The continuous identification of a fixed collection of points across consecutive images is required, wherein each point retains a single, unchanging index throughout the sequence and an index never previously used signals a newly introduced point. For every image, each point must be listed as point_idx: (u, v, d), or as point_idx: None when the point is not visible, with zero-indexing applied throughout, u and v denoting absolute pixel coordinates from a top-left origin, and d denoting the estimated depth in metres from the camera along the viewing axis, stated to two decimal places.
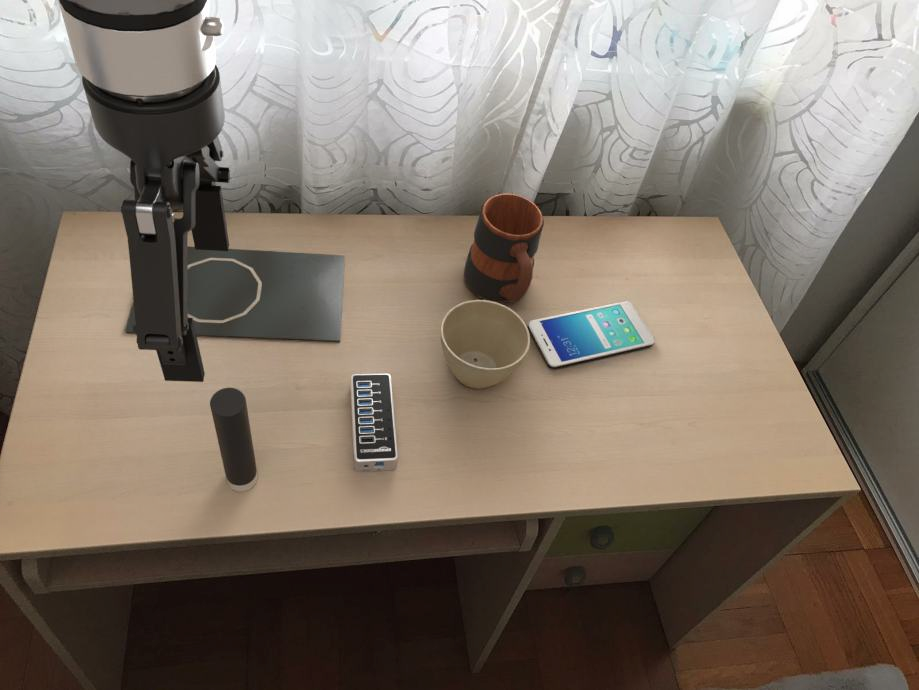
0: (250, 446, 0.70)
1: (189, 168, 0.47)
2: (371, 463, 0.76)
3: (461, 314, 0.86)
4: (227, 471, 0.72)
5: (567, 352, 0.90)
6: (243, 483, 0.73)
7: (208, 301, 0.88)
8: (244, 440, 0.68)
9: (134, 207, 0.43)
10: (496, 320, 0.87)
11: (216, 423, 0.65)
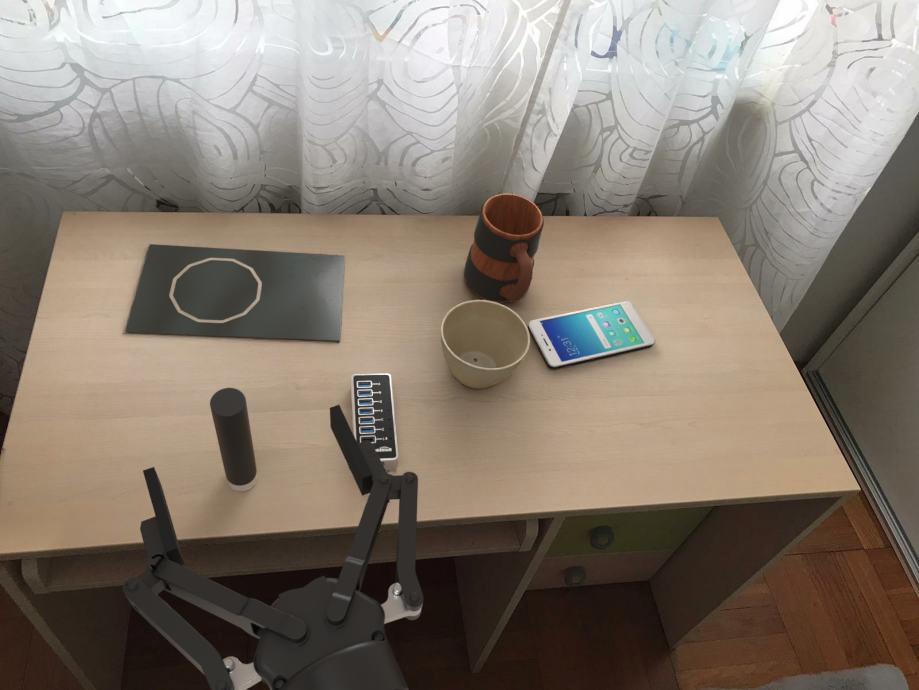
0: (250, 446, 0.70)
1: None
2: None
3: (461, 314, 0.86)
4: (227, 471, 0.72)
5: (567, 352, 0.90)
6: (243, 483, 0.73)
7: (208, 301, 0.88)
8: (244, 440, 0.68)
9: None
10: (496, 320, 0.87)
11: (216, 423, 0.65)
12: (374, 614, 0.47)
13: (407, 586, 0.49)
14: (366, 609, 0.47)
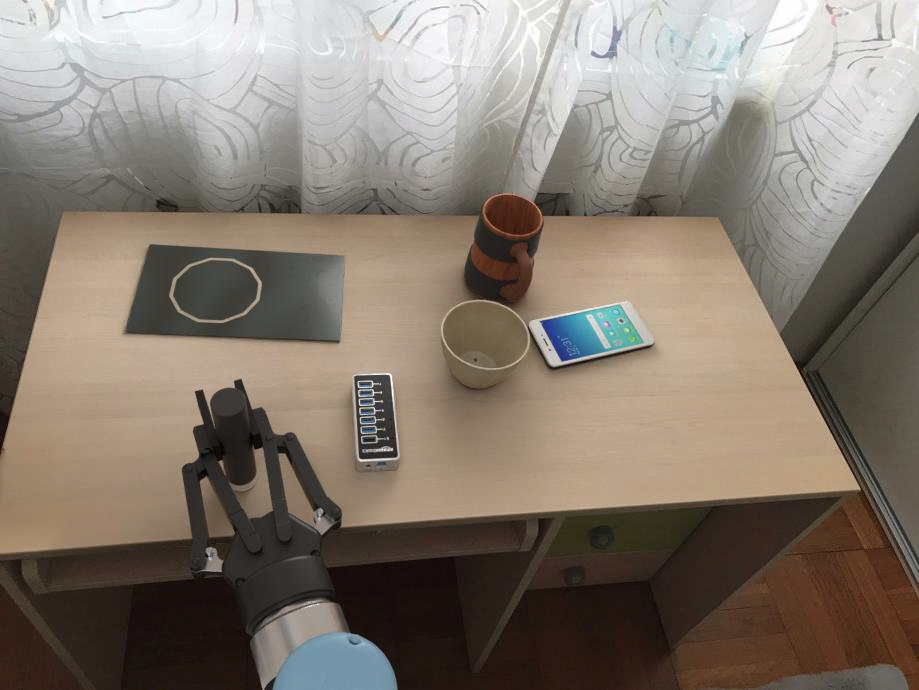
0: (250, 446, 0.70)
1: None
2: (373, 463, 0.76)
3: (461, 314, 0.86)
4: (227, 471, 0.72)
5: (567, 352, 0.90)
6: (243, 483, 0.73)
7: (208, 301, 0.88)
8: (244, 440, 0.68)
9: (191, 570, 0.61)
10: (496, 320, 0.87)
11: (216, 423, 0.65)
12: (313, 538, 0.63)
13: (326, 507, 0.65)
14: (307, 534, 0.64)
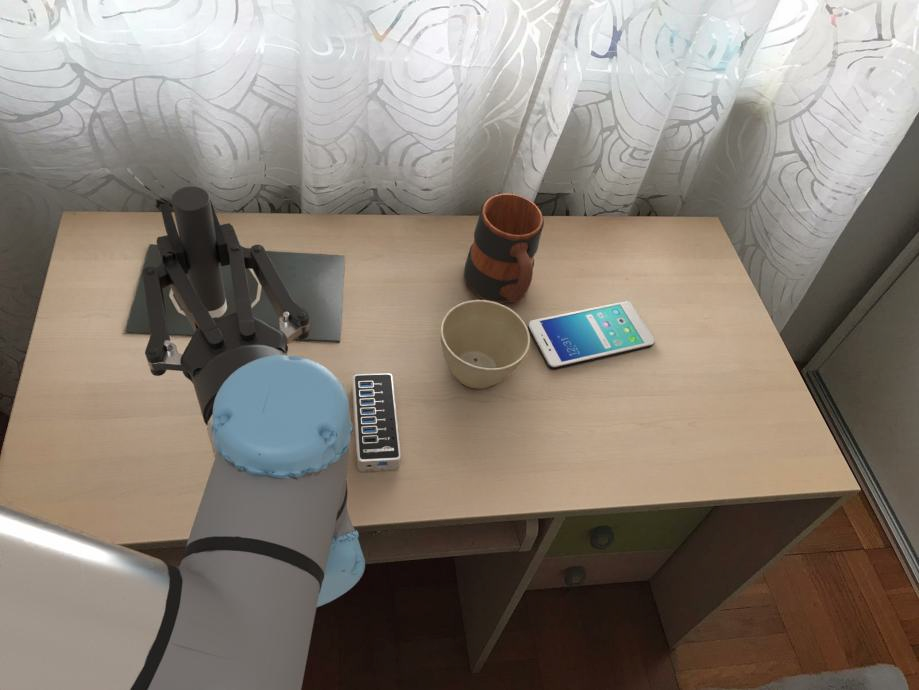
0: (216, 260, 0.67)
1: None
2: (374, 463, 0.76)
3: (461, 314, 0.86)
4: None
5: (567, 352, 0.90)
6: (211, 308, 0.71)
7: None
8: (209, 249, 0.65)
9: (148, 361, 0.58)
10: (496, 320, 0.87)
11: (178, 222, 0.62)
12: (278, 337, 0.61)
13: (292, 311, 0.62)
14: (272, 333, 0.61)
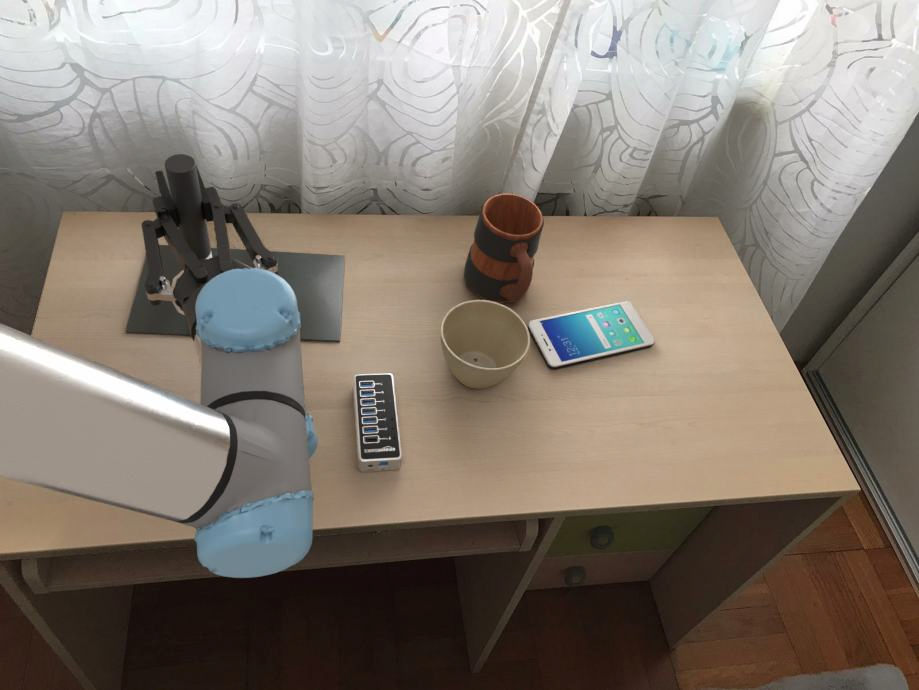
0: (202, 216, 0.82)
1: None
2: (375, 462, 0.77)
3: (461, 314, 0.86)
4: None
5: (567, 352, 0.90)
6: (198, 258, 0.85)
7: None
8: (196, 206, 0.80)
9: (147, 292, 0.73)
10: (496, 320, 0.87)
11: (170, 183, 0.77)
12: None
13: (263, 254, 0.77)
14: None
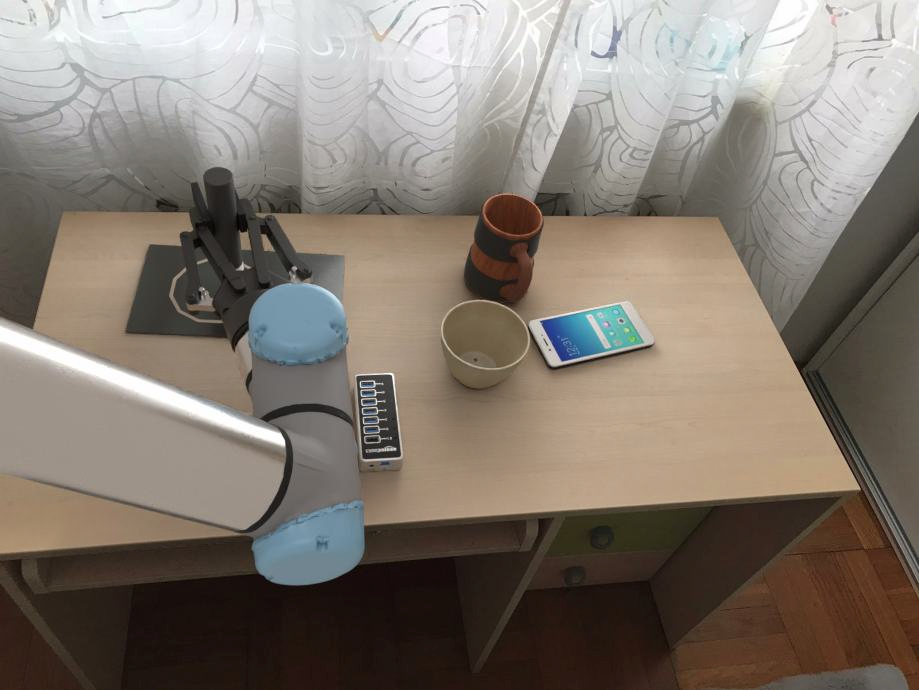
0: (237, 227, 0.83)
1: None
2: (377, 462, 0.77)
3: (461, 314, 0.86)
4: None
5: (567, 352, 0.90)
6: None
7: None
8: (231, 217, 0.81)
9: (187, 303, 0.74)
10: (496, 320, 0.87)
11: (208, 195, 0.78)
12: None
13: (299, 265, 0.79)
14: (283, 283, 0.77)
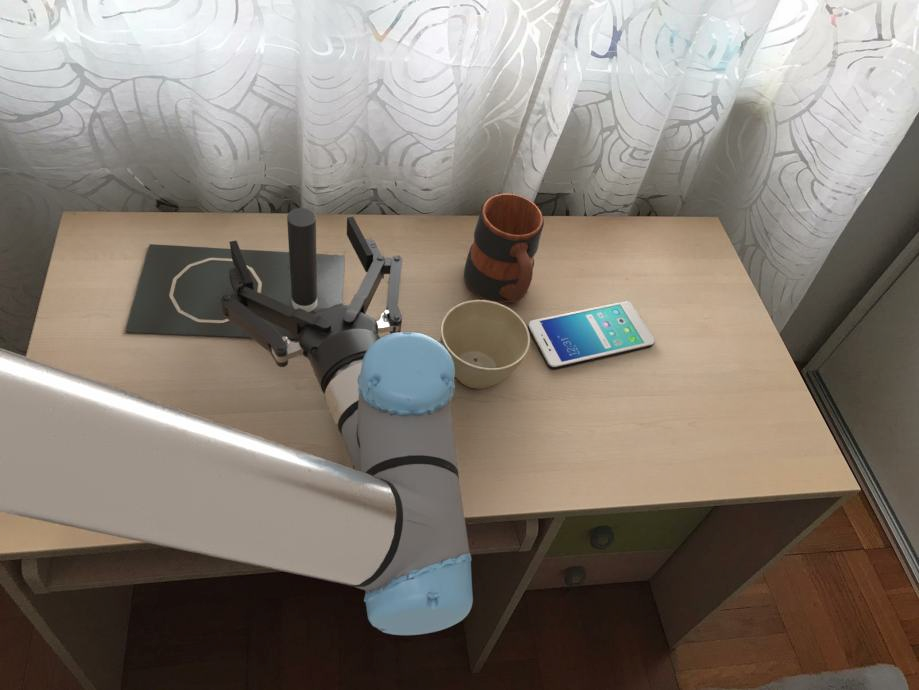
0: (315, 265, 0.85)
1: None
2: None
3: (461, 314, 0.86)
4: (294, 290, 0.87)
5: (567, 352, 0.90)
6: (307, 303, 0.88)
7: (208, 301, 0.88)
8: (312, 256, 0.83)
9: (280, 356, 0.74)
10: (496, 320, 0.87)
11: (291, 236, 0.80)
12: (371, 323, 0.78)
13: (392, 311, 0.79)
14: (366, 320, 0.78)
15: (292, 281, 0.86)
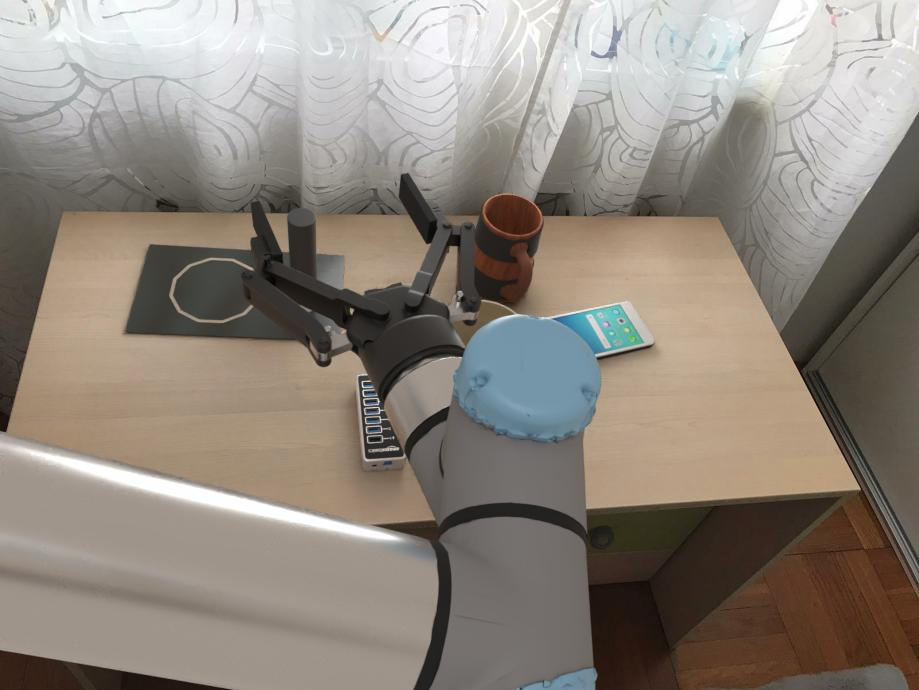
0: (315, 265, 0.85)
1: None
2: (379, 462, 0.77)
3: None
4: None
5: None
6: None
7: (208, 301, 0.88)
8: (312, 256, 0.83)
9: (322, 353, 0.55)
10: None
11: (291, 236, 0.80)
12: (442, 309, 0.58)
13: (467, 293, 0.60)
14: (435, 305, 0.58)
15: None
